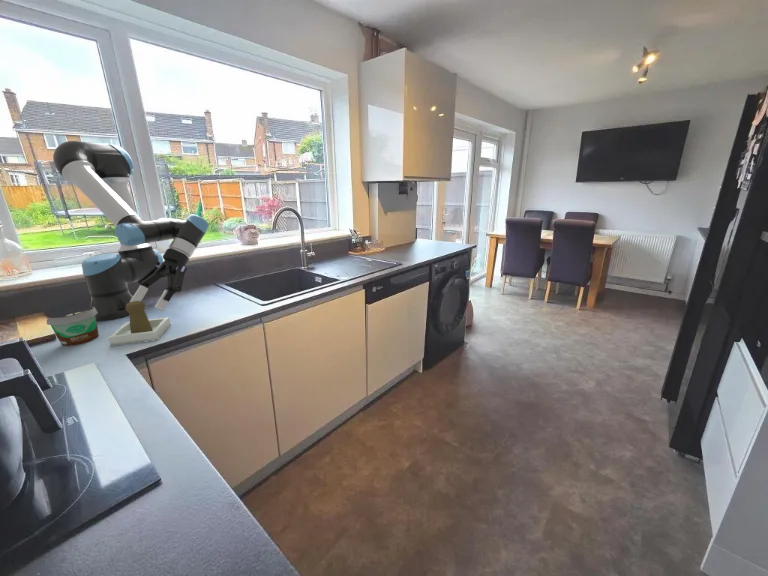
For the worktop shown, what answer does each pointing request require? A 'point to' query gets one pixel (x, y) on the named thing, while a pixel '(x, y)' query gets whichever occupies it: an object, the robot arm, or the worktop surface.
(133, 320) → the pepper mill
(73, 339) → the food container
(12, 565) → the worktop surface
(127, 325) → the tray
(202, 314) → the worktop surface
